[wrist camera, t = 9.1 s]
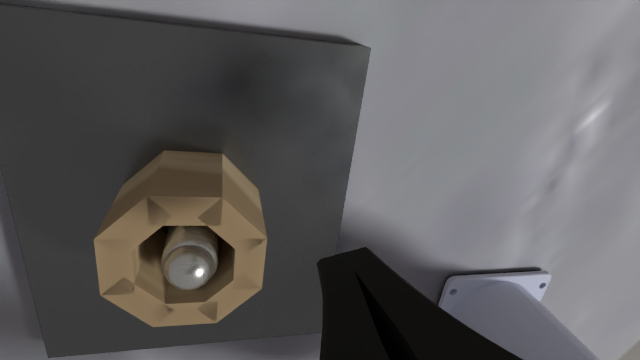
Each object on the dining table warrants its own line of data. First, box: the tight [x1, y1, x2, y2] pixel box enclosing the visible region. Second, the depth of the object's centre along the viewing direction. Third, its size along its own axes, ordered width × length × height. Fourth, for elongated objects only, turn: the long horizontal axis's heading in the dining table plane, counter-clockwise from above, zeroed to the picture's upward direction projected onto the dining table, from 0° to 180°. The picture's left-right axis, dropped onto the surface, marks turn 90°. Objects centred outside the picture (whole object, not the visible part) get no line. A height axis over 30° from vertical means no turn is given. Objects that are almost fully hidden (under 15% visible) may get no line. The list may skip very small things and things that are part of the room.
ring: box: [94, 150, 267, 327], centre depth 15 cm, size 6×6×4 cm
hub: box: [0, 3, 371, 358], centre depth 15 cm, size 16×14×5 cm
